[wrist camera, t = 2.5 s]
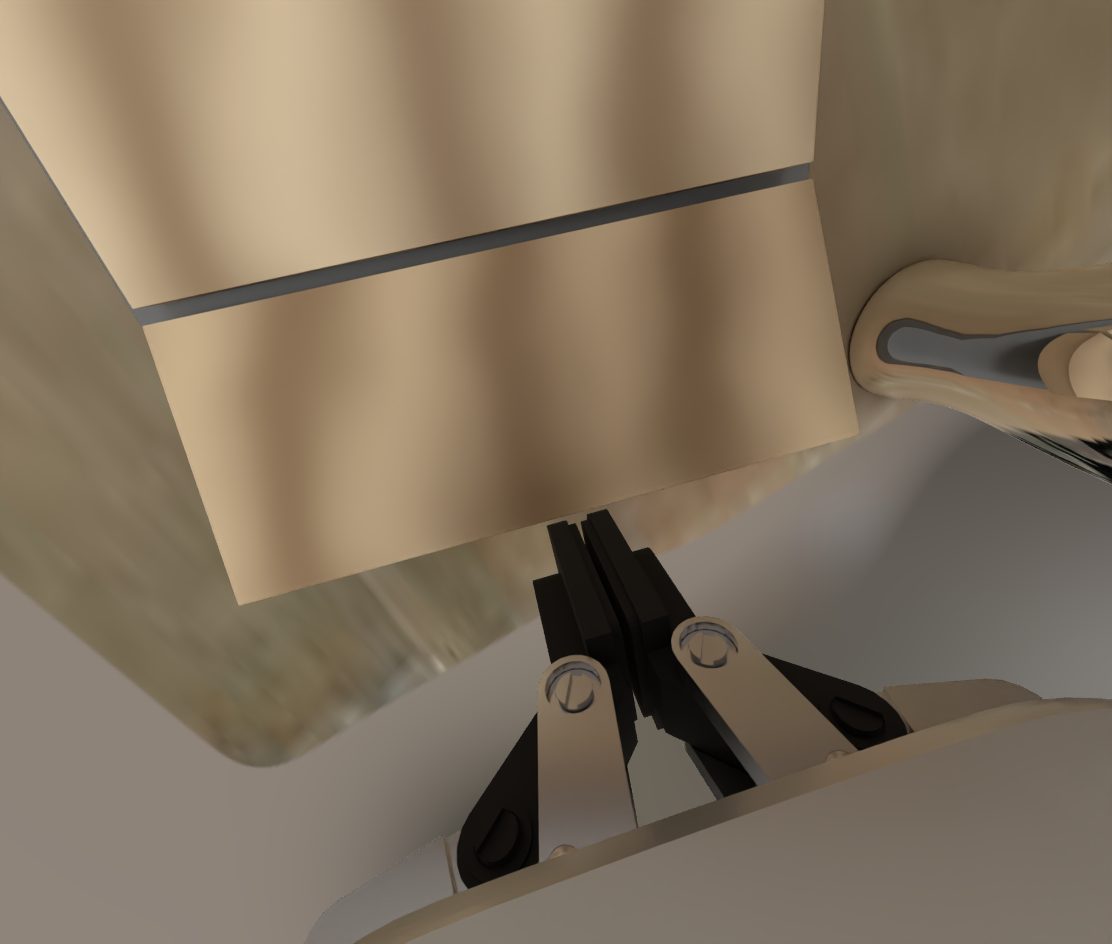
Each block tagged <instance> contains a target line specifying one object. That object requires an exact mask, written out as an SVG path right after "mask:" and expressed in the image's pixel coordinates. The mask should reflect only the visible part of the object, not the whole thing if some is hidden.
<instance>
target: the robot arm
mask: <svg viewBox="0 0 1112 944" xmlns="http://www.w3.org/2000/svg"><path fill="white" fill-rule="evenodd" d="M581 526H582V531H583V536H584V541H585V544H584V542H583V539H582V537H581V535H580V532H579V530H578V528H577V526H576V524H575V523H574V524H571V525H568V523H567V521H566V520H565V521H562V522H558V523H555V524H551V525H547V528H548V532H549V536H550V540H551V544H552V548H553V552H554V556H555V560H556V564H557V568H558V572H559V573H558V574H554V575H551V576H547V577H544V578H540V579H537V580H534V581H533V585H534V590H535V594H536V599H537V603H538V608H539V612H540V617H541V621H542V625H543V630H544V635H545V639H546V644H547V648H548V653H549V657H550V661H551V665H550V666H549V667H548V668H547V669H546V670H545V671H544V673H543V675H542V677H541V679H540V681H539V685H538V692H537V700H538V701H537V703H538V704H537V709H538V712H537V713H536V715H535V716H534V718H533V719H532V721H531V722H530V724H529V725H528V727H527V728H526V730H525V731H524V733H523V734H522V736H521V737H520V739H519V740H518V742H517V743H516V745H515V747H514V748H513V749H512V751H511V752H510V754H509V755H508V757H507V758H506V760H505V761H504V763H503V765H502V766H501V767H500V769H499V771H498V772H497V773H496V775H495V777H494V778H493V779H492V781H491V783H490V784H489V786H488V787H487V789H486V790H485V792H484V793H483V795H482V796H481V798H480V799H479V801H478V802H477V804H476V805H475V807H474V808H473V810H472V811H471V813H470V814H469V816H468V818H467V820H466V822H465V824H464V826H463V828H462V829H461V830H460V831H458V832H456V833H455V834H453V835H452V836H450V837H448V838H447V839H445V838H444V837H443V835H441V836H440V837H438V838H436V839H435V840H433V841H432V842H430V843H429V844H427V845H425V846H424V847H422V848H420V849H419V850H417V851H416V852H414V853H413V854H411V855H409V856H408V857H406V858H404V859H403V860H401V861H400V862H398V863H397V864H395V865H393V866H392V867H390V868H388V869H387V870H385V871H384V872H382V873H381V874H379V875H378V876H376V877H374V878H372V879H371V880H369V881H368V882H366V883H364V884H363V885H362V886H360V887H358V888H356V889H355V890H354V891H352V892H350V893H348V894H347V895H345V896H344V897H342V898H340V899H339V900H337V901H336V902H335V903H334V904H333V905H332V906H330V907H329V908H328V909H327V910H326V911H325V912H323V914H322V915H321V916H320V918H319V919H318V920H317V922H316V923H315V925H314V926H313V927H312V929H311V930H310V932H309V934H308V936H307V938H306V940H305V943H304V944H1112V699H1102V698H1070V697H1069V698H1068V697H1064V698H1050V699H1042V698H1041V697H1040V696H1039V695H1037V694H1035V693H1033V692H1031V691H1029V690H1028V689H1026V688H1024V687H1022V686H1020V685H1016V684H1013V683H1010V682H1007V681H1004V680H997V679H974V680H961V681H950V682H949V681H948V682H935V683H922V684H910V685H897V686H884V687H883V691H882V692H878V693H874V692H873V691H870V690H868V689H866V688H863V687H861V686H859V685H856V684H853V683H850V682H847V681H844V680H841V679H838V678H835V677H832V676H829V675H826V674H822V673H819V672H816V671H813V670H810V669H807V668H804V667H801V666H798V665H795V664H792V663H789V662H786V661H783V660H780V659H777V658H774V657H770V656H768V655H765V654H762V653H760V652H759V651H758V650H757V649H756V648H755V647H754V646H753V645H752V644H751V643H750V642H749V641H748V640H747V639H746V638H745V637H744V636H743V635H742V634H741V633H740V632H739V631H738V630H737V629H736V628H735V627H734V626H732V625H731V624H729V623H728V622H726V621H723V620H721V619H719V618H714V617H709V616H702V617H700V616H699V617H696V616H695V615H694V613H693V612H692V610H691V609H690V607H689V606H688V604H687V603H686V601H685V600H684V598H683V597H682V595H681V594H680V592H679V591H678V589H677V588H676V586H675V585H674V583H673V582H672V580H671V579H670V577H669V575H668V574H667V573H666V571H665V570H664V568H663V567H662V565H661V563H660V562H659V560H658V559H657V557H656V556H655V554H654V553H653V552H652V550H651V549H650V548H648V547H647V548H644V549H640V550H637V551H633V552H632V551H631V549H630V547H629V546H628V544H627V542H626V540H625V539H624V537H623V535H622V534H621V532H620V530H619V529H618V527H617V525H616V524H615V522H614V520H613V519H612V517H611V515H610V513H609V512H608V510H607V509H605V510H601V511H597V512H594V513H590V514H587V520H585V521H581ZM632 690H633V691H632ZM633 692H634V695H635V697H636V700H637V702H638V705H639V707H640V710H641V712H642V715H643V716H644V717H648V716H651V715H652V717H653V720H654V722H655V724H656V727H657V729H658V730H659V729H662V728H664V729H665V731H666V733H668V734H670V735H672V736H674V737H676V738H678V739H681V741H682V744H683V746H684V748H685V750H686V752H687V754H688V755H689V757H690V759H691V760H692V762H693V763H694V765H695V766H696V768H697V770H698V771H699V773H700V774H701V776H702V778H703V779H704V781H705V782H706V784H707V786H708V787H709V789H710V790H711V792H712V793H713V795H714V797H715V798H716V801H713V802H711V803H708V804H705V805H703V806H699V807H697V808H693V809H691V810H688V811H685V812H682V813H679V814H676V815H673V816H670V817H668V818H665V819H662V820H659V821H656V822H653V823H650V824H648V825H645V826H642V827H639V826H638V821H637V815H636V809H635V804H634V799H633V793H632V788H631V782H630V777H629V771H628V766H627V765H628V762H629V760H630V758H631V756H632V754H633V751H634V749H635V747H636V745H637V742H638V740H637V734H636V730H635V723H634V721H636V720H637V714H636V708H635V702H634V697H633Z"/></svg>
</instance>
